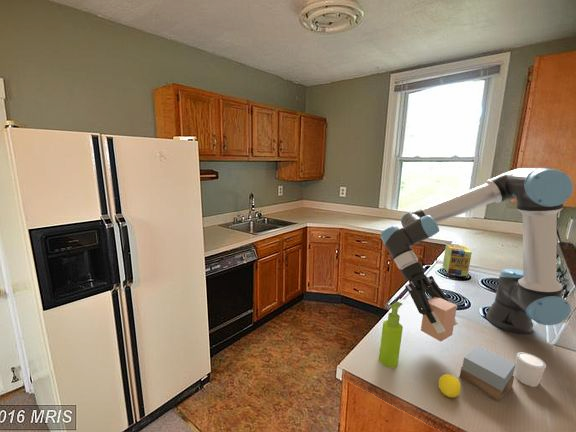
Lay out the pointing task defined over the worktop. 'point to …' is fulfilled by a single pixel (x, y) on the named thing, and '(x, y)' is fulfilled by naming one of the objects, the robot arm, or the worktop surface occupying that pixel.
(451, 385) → the lemon
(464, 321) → the worktop surface
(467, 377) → the tower base block
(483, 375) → the tower top block
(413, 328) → the worktop surface
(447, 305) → the terracotta block
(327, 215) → the worktop surface
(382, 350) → the soap dispenser
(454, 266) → the protein box
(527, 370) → the white cylinder
